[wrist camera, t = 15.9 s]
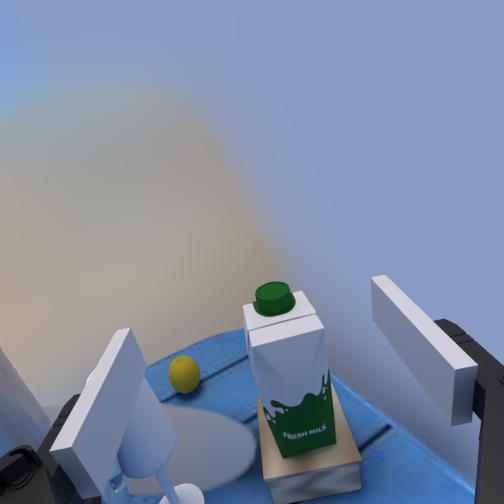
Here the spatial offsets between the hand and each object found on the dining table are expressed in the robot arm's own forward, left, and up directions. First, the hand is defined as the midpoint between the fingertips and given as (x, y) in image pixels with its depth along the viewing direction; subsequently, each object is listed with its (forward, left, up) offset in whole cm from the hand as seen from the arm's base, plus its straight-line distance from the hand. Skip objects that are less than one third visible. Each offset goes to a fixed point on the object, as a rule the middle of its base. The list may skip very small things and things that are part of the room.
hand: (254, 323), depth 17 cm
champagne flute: (-16, +11, -34) cm, 39 cm away
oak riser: (+2, +15, -34) cm, 37 cm away
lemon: (-17, +31, -34) cm, 49 cm away
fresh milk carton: (+2, +14, -28) cm, 32 cm away
